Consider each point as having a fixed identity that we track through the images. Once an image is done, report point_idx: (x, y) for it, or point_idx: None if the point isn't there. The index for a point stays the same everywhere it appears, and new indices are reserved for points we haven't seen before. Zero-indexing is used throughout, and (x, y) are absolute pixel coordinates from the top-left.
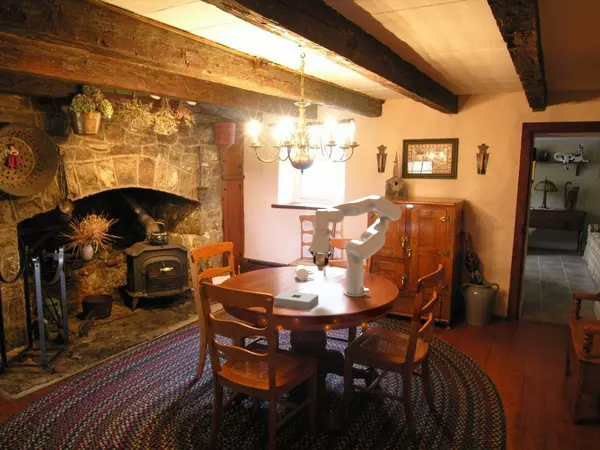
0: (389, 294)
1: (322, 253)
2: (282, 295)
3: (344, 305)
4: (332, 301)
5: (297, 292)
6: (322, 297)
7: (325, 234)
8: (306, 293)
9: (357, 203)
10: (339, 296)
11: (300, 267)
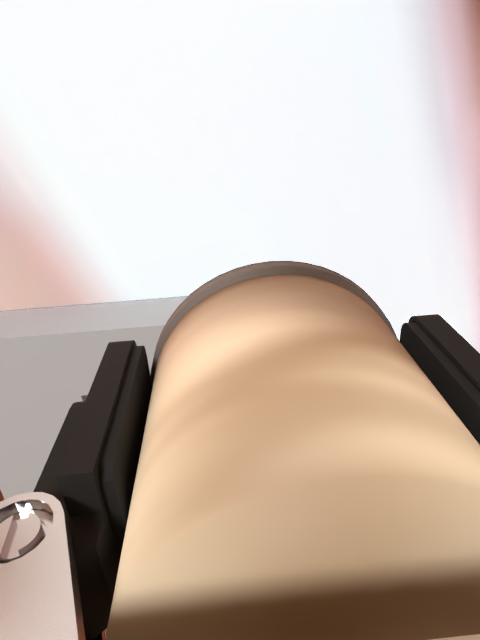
0: None
1: (338, 489)
2: (20, 448)
3: (471, 272)
4: (359, 223)
5: (65, 336)
6: (240, 153)
7: None
8: (152, 326)
9: None
10: (385, 31)
11: None
